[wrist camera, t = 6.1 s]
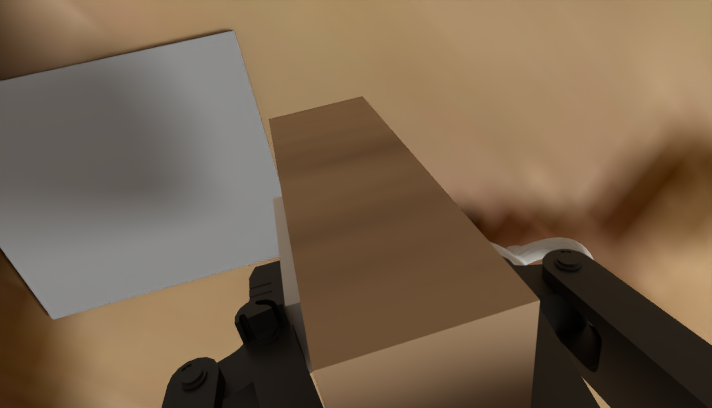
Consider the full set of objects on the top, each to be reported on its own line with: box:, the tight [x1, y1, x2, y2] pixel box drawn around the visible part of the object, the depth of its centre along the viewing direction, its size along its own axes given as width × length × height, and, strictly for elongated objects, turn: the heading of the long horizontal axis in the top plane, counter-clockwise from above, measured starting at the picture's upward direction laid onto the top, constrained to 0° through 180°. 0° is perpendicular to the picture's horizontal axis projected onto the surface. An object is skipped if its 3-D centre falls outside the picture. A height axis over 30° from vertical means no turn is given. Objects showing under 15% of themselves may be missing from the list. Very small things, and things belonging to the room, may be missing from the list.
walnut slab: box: [269, 97, 540, 408], centre depth 13 cm, size 9×4×11 cm, turn 10°
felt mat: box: [0, 30, 282, 320], centre depth 24 cm, size 14×16×1 cm
